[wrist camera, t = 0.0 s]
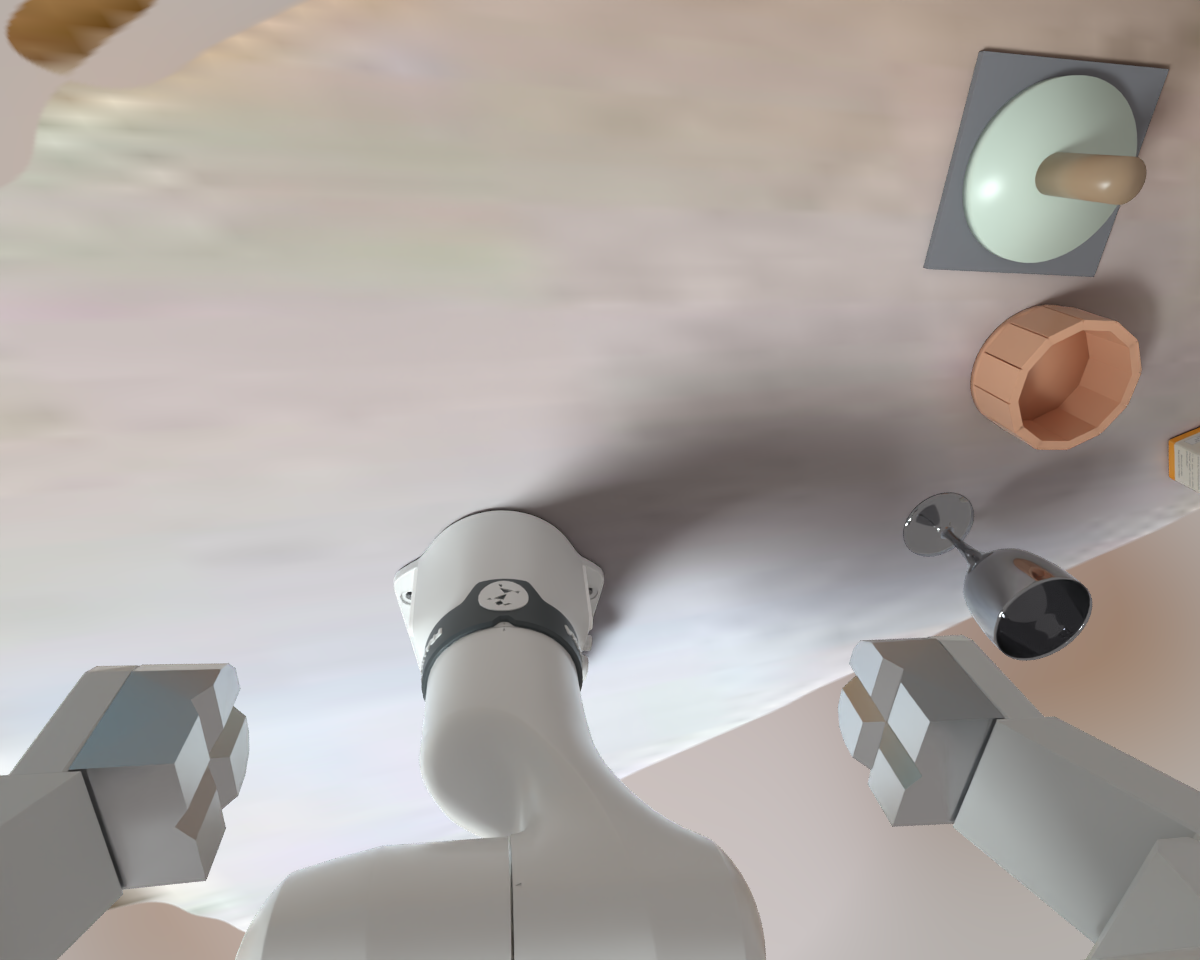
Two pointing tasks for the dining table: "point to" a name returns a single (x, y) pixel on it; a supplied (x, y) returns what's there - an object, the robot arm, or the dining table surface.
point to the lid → (1051, 168)
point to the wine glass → (1003, 583)
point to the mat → (987, 94)
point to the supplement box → (1185, 459)
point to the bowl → (1055, 375)
